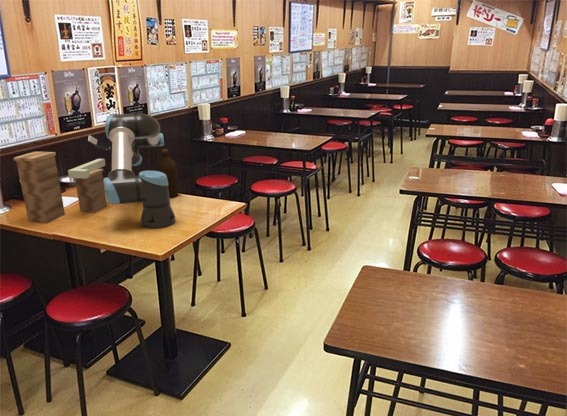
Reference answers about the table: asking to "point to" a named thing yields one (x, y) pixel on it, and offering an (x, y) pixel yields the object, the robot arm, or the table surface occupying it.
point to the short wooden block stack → (91, 192)
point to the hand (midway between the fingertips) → (101, 138)
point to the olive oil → (169, 172)
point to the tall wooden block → (40, 186)
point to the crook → (86, 169)
